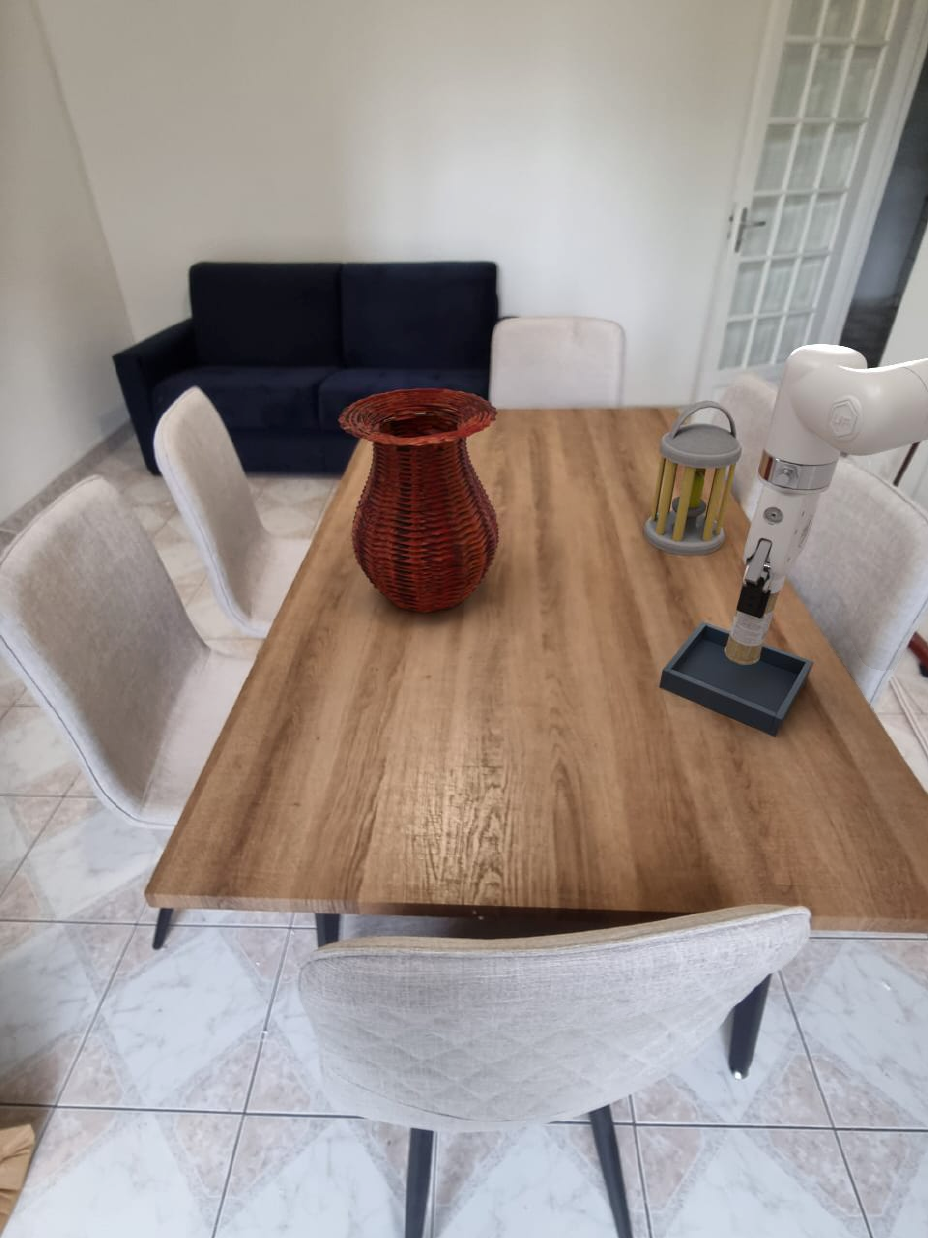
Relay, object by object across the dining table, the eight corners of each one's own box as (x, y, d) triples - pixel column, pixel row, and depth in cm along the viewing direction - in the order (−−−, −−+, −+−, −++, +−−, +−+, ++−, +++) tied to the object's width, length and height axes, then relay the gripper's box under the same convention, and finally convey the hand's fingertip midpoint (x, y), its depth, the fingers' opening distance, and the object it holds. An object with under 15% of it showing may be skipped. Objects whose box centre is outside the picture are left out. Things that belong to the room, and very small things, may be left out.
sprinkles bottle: (736, 640, 92) (759, 556, 84) (766, 657, 89) (793, 571, 81) (716, 654, 90) (738, 569, 82) (747, 671, 87) (773, 585, 79)
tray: (807, 678, 93) (813, 661, 91) (775, 737, 84) (781, 719, 83) (698, 637, 101) (702, 620, 99) (659, 687, 92) (662, 669, 90)
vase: (350, 563, 120) (326, 394, 102) (478, 544, 124) (476, 379, 106) (368, 642, 102) (343, 453, 84) (517, 616, 106) (523, 432, 88)
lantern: (711, 517, 130) (740, 387, 115) (732, 555, 119) (767, 416, 104) (637, 517, 131) (656, 388, 116) (651, 555, 120) (674, 417, 105)
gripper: (809, 505, 67) (764, 649, 77) (852, 450, 77) (808, 583, 88) (734, 486, 70) (701, 625, 81) (785, 435, 81) (750, 565, 92)
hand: (757, 602), depth 84 cm, fingers closed on sprinkles bottle, 4 cm apart
